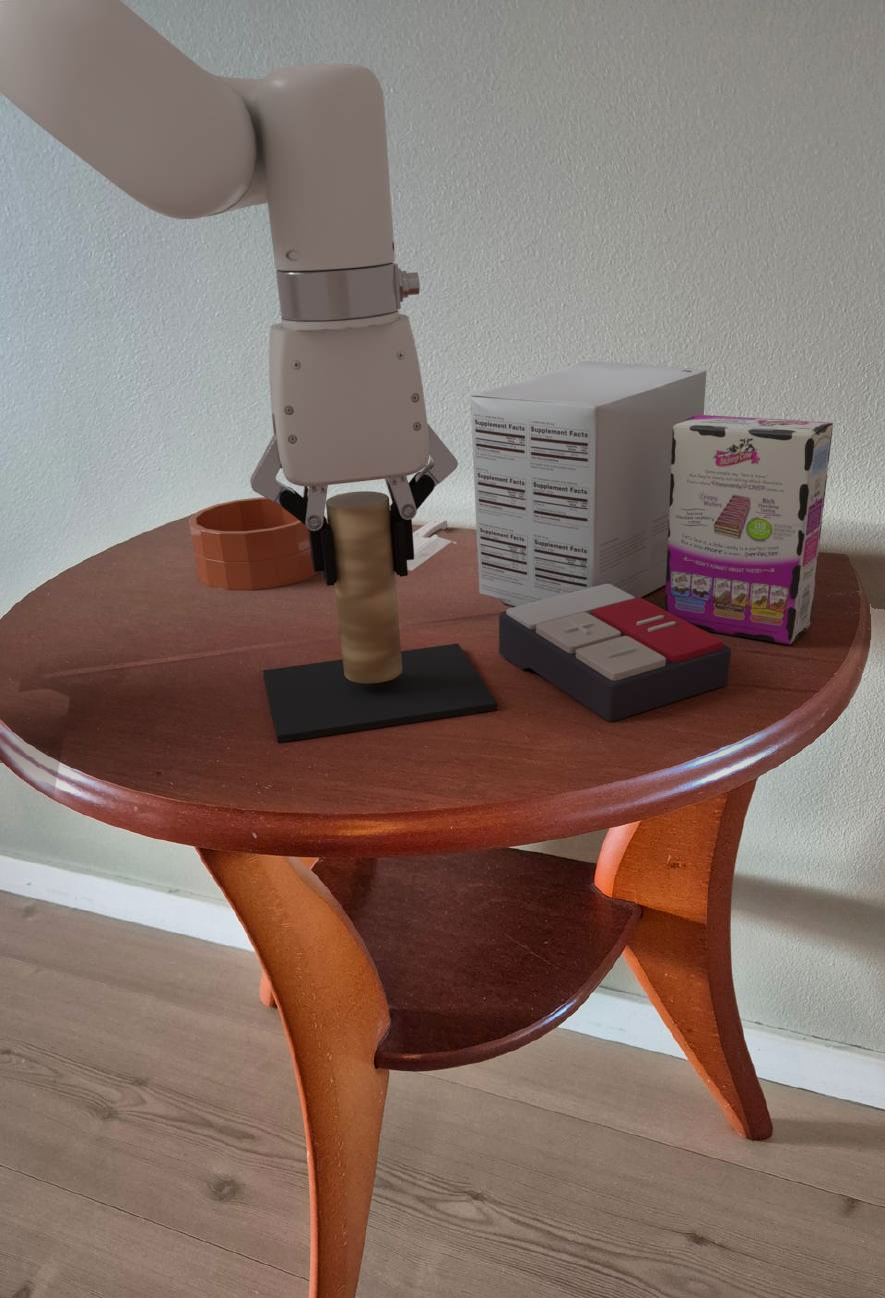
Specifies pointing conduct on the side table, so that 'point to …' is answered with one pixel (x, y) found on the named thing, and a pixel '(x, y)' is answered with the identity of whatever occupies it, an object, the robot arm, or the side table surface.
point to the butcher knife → (427, 542)
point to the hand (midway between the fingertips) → (364, 572)
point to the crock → (250, 545)
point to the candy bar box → (746, 524)
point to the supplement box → (577, 478)
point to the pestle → (365, 586)
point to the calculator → (613, 650)
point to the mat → (374, 694)
